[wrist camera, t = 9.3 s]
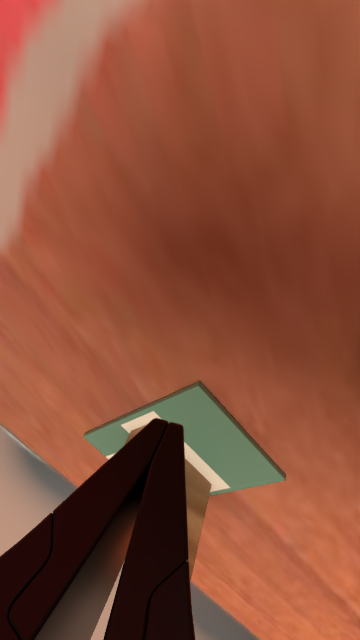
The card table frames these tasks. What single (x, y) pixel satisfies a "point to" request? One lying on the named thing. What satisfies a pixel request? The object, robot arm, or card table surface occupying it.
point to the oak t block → (191, 504)
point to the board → (198, 439)
